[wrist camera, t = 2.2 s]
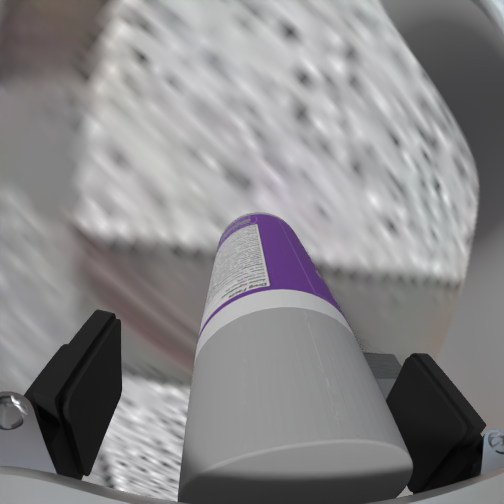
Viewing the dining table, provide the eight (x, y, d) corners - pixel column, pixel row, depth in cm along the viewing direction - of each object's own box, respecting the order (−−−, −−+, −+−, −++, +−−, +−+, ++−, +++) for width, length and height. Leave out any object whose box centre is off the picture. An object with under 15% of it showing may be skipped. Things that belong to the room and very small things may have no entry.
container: (314, 255, 19) (444, 478, 5) (254, 303, 20) (275, 553, 5) (263, 194, 18) (347, 385, 3) (200, 248, 19) (120, 494, 4)
